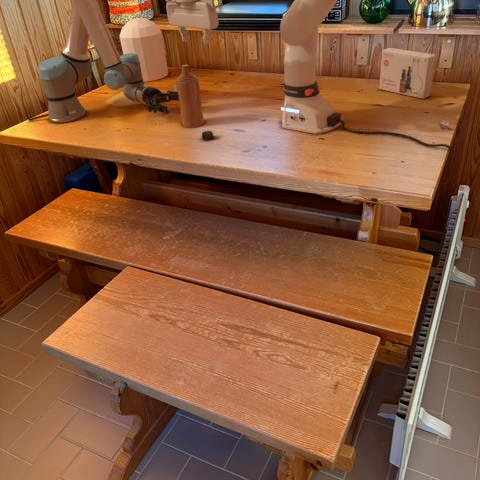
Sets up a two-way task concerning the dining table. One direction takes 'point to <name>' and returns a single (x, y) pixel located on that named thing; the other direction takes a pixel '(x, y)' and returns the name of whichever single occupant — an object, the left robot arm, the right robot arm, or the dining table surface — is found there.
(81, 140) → the dining table surface
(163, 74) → the container
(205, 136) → the cap
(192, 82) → the bottle
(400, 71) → the skincare box
